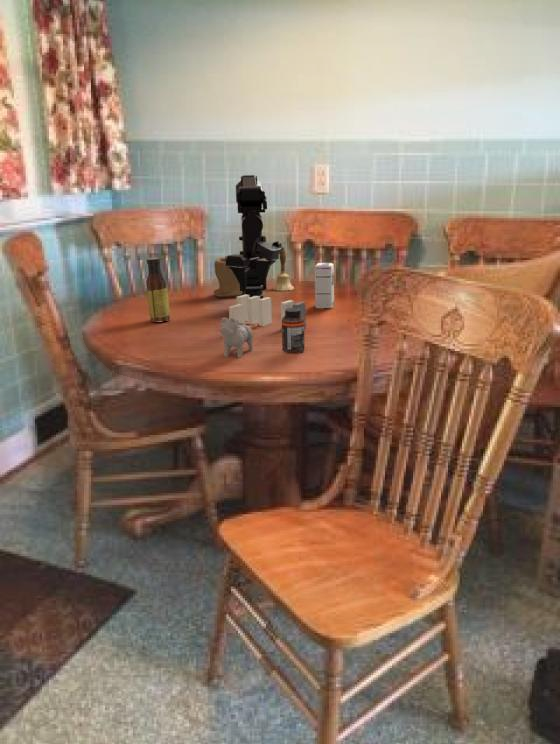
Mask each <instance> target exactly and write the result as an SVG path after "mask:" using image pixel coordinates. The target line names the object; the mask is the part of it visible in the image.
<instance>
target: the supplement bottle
mask: <svg viewBox="0 0 560 744" xmlns="http://www.w3.org/2000/svg"><path fill="white" fill-rule="evenodd" d="M300 314H301V312H300V309H299V308H287V309H285V316H284V317H283V318H282V329H281V349H282V351H283V352H284V353H285V354H291V353H294V354H301V353H302V352H304V351H305V329H304V318H303V317H301V316H300Z"/></svg>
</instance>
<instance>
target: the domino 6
mask: <svg viewBox="0 0 560 744" xmlns="http://www.w3.org/2000/svg"><path fill="white" fill-rule="evenodd" d="M292 305H293V308H299V309H300V312H301V314H300V316H301V317H303V318H304V330H306V328H307V327H306V325H307V324H306V320H307V318H306V314H307V313H306V310H307V309H306V306H307V305H306V302H305V301H299V302H296V303H294V304H292Z"/></svg>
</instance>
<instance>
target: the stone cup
mask: <svg viewBox="0 0 560 744" xmlns="http://www.w3.org/2000/svg"><path fill="white" fill-rule="evenodd" d="M229 255H230V254H228V255H226V256H219V257H218V258H216V259H215V260H214V264H213V265H214V273H215V276H216V280H217V281H218V285H219V288H216V289H214V290H213V295H214V296H216V297H219V298H220V297H222V298H223V297H224V298H225V297H227V298H228V297H238V296H242V291H240V284H239V282H238V280H237V278H236V276H235V275H234V273H233V271H232V270H231V268H229V267H228V266H226V264H225V259H226V257H227V256H229Z"/></svg>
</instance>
